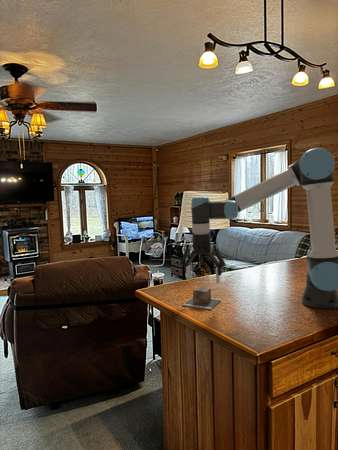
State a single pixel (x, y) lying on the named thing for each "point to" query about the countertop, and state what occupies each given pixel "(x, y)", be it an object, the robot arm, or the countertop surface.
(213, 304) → the tray
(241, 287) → the countertop surface
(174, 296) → the countertop surface
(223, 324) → the countertop surface
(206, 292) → the walnut block
